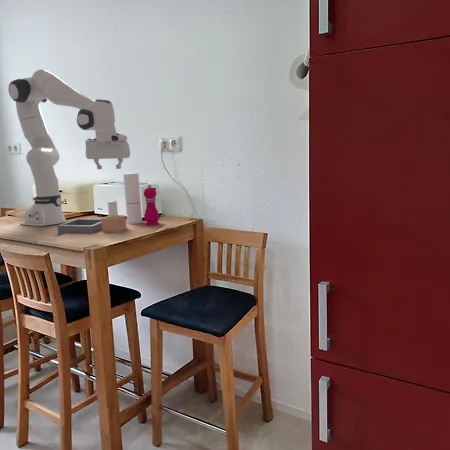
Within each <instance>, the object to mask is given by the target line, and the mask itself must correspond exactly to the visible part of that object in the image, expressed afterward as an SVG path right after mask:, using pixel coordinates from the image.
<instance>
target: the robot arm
mask: <svg viewBox="0 0 450 450" xmlns="http://www.w3.org/2000/svg"><path fill="white" fill-rule="evenodd" d="M8 94H9V97H11V99H12V100H13V102H15V107H16V112H17V113H16V114H17V117H18V121H19V124H20V127H21V131H22V133H23V135H24V138H25V139H26V140H27V142H28V143H29V145H30V147H31V149H30V150H28V152H27V154H26V156H25V157H26V158H25V159H26V162H27V164H28V166H29V167H30V172H31V174H32V176H33V181H34V186H35V187H34V188H35V193H36V195H35V197H32V201H34V202H33V204H32V205H31V206H30V207H29V208H28V209H27V210H26V211H25V212H24V220H22V221H20V225H24V226H33V227H34V226H35V227H44V226H50V225H60V224H63V223H66V222H67V219H66V217H65V215H64V212H63V208H62V207H63V206H62V196H61V194H60V187H59V179H58V177H57V175H56V172H55V169H54V166H56V165H57V163H58V162H59V160H60V153H59V150H58V149H57V148H56V146H55V143H54V142H53V139H52V138H51V136H50V133H49V132H48V128H47V126H46V122H45V119H44V115H43V114H42V111H41V107H40V104H41V102H42V103H44V104H45V103H47V101H48V102H50V103H52V104H53V105H56V106H61V107H62V106H63V107H72V108H76V109H79V111H78V112H77V113H76V119H75V120H76V123H77V126H78V128H79V129H81V130H83V131H94V133H95V137H89V138H87V139H86V140H85V157H86V159H87V160H93V162H94V164H95V165H96V168H97V170H102V169H103V165H102V164H101V163H100V162H99V161H100V160H108V159H109V160H110V159H111V160H112V159H117V162H118V163H117V164H116V165H115V168H116V170H121V169H122V163H123V161H124V159H129V158H130V156H131V150H130V145H129V142H128V137H127V135H125V134H123V133H122V134H121V133H120V132H119V133H118V132H117V129H116V126H115V121H116V117H115V110H114V105H113V102H111V101H110V100H108V99H98V98H97V99H94V100H91V99H90V98H88V97H87V96H85V95H84V94H83V93H81V92H79V91H78V90H76V89H74V88H72V87H71V86H70V85H69V84H67V83H66V82H64V81H63V80H62V79H61V78H60V77H58V76H56V75H55V74H53V73H52V72H51V71H48V70H46V69H41V68H40V69H38V70H35V72H33V74H32V76H31V77H26V78H17V79H14V80H11V82H9V84H8Z"/></svg>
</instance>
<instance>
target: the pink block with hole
mask: <svg viewBox="0 0 450 450" xmlns="http://www.w3.org/2000/svg"><path fill="white" fill-rule="evenodd" d="M100 219H101V222H102V229H101V230H102V232H104V233H105V232H106V233H108V232H109V233H110V232H111V233H119V232H122V231H124V230H125V229H127V227H128V226H127V214H126V215H125V214H118V218H109V215H107V216H104V217H101V218H100Z"/></svg>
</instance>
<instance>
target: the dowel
mask: <svg viewBox="0 0 450 450" xmlns="http://www.w3.org/2000/svg"><path fill="white" fill-rule="evenodd" d="M117 202H118V201H116V200H111V201H110V200H109V201H107V209H108V216H109V218H118V215H119V213H118V211H119V210H118V203H117Z"/></svg>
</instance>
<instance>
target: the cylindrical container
mask: <svg viewBox="0 0 450 450" xmlns="http://www.w3.org/2000/svg"><path fill="white" fill-rule="evenodd" d="M122 174H123V175H122V176H123V184H124V185H123V187H124V197H125V208H126V224H132V225H135V224H140V223H143V215H142V202H141V191H140V189H141V188H140V177H139V176H140V173H139V172H136V171H135V172H134V171H133V172H132V171H131V172H124V173H122Z"/></svg>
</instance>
